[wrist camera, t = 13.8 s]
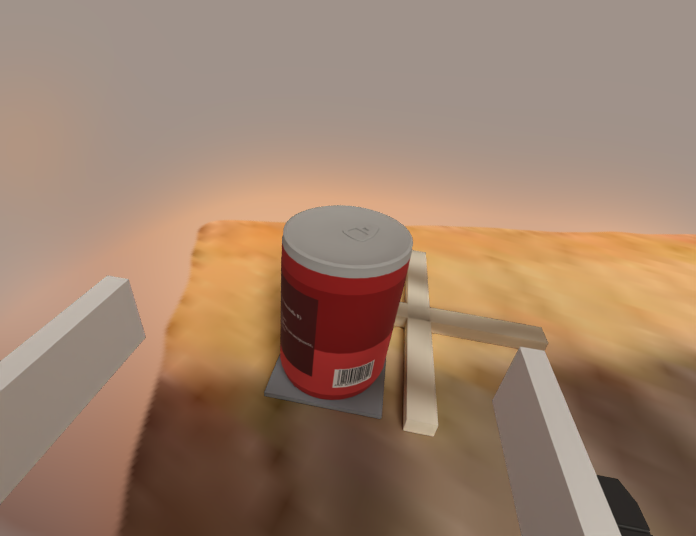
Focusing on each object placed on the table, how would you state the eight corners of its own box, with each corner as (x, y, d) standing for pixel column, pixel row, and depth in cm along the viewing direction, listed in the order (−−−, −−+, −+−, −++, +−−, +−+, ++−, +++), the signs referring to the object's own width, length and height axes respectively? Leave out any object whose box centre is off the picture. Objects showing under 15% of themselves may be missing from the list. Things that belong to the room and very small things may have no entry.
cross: (321, 243, 43) (322, 234, 42) (510, 276, 41) (514, 267, 41) (254, 400, 24) (254, 388, 24) (590, 468, 23) (600, 457, 22)
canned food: (397, 347, 29) (430, 226, 23) (354, 424, 23) (383, 287, 17) (316, 312, 32) (326, 194, 26) (257, 373, 26) (253, 237, 20)
